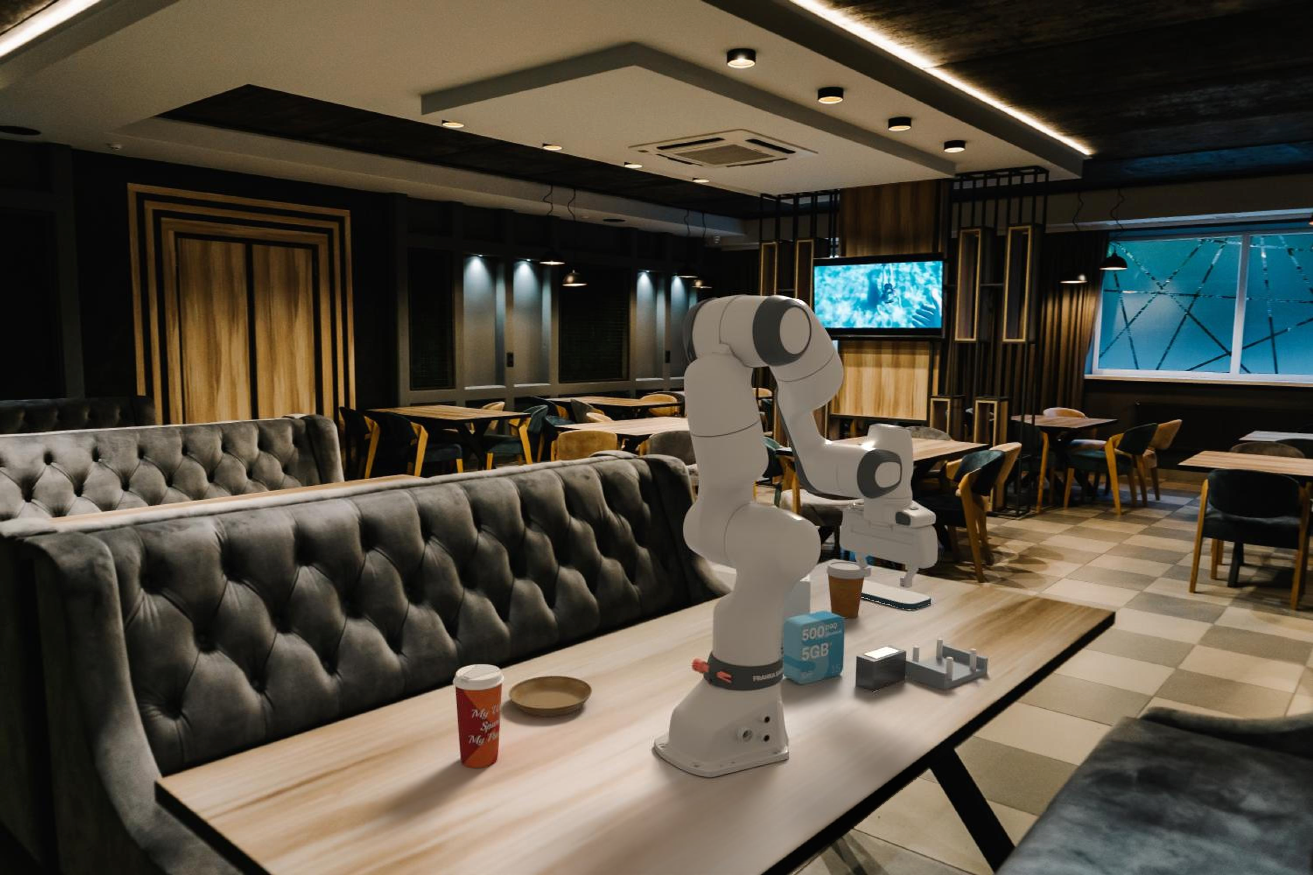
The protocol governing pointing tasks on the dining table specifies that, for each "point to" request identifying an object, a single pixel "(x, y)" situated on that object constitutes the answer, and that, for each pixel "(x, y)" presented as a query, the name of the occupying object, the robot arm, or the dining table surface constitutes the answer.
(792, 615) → the supplement box
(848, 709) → the dining table surface
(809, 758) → the dining table surface
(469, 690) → the paper cup
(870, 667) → the block
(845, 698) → the dining table surface
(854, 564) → the disposable coffee cup
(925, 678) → the tray
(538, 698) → the plant saucer
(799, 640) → the data package
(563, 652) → the dining table surface
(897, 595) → the white teal rounded slab
